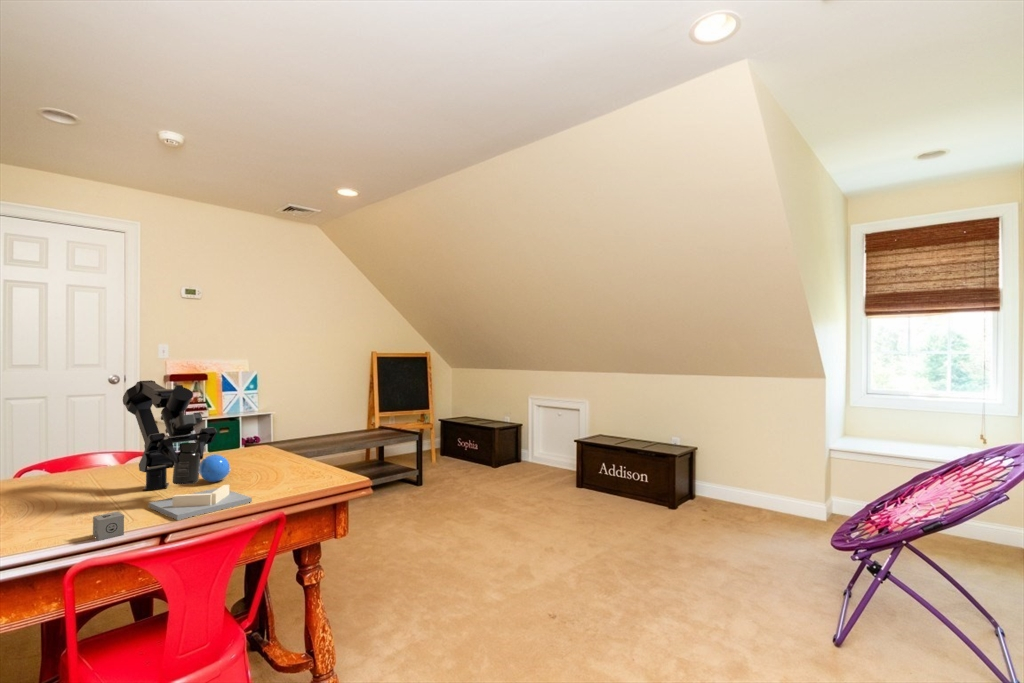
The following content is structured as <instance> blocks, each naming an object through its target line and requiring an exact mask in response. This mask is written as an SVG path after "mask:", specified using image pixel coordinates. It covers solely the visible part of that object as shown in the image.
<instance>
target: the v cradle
mask: <svg viewBox="0 0 1024 683" xmlns="http://www.w3.org/2000/svg"><path fill="white" fill-rule="evenodd" d="M249 502H252V503H253V498H252V496H248V495H245V494H242V493H239V492H236V491H233V490H230V484H223V485H221V486H220V487H217V488H212V489H207V490H202V491H197V492H193V493H188V494H174V495H173V496H172V497H169V498H164V499H160V500H159V499H158V500H155V501H154V500H153V501H149V502H148V508H149V509H151V508H152V509H151V510H153V509H154V510H153V511H155V510H156V511H155V512H157V511H158V513H159V512H160V513H159V514H161V515H164V514H165V515H164V516H166V515H167V516H166V517H168V516H169V517H168V518H170V517H172V518H171V519H173V518H174V519H173V520H175V519H176V520H175V521H177V520H178V521H181V520H180V519H182V520H185V519H184V518H187V517H191V518H193V517H192V516H195V517H197V516H196V515H199V516H201V515H200V514H203V515H205V514H204V513H207V514H210V513H209V512H211V513H214V512H213V511H215V512H218V511H217V510H219V511H222V510H221V509H224V510H227V509H226V508H228V509H230V507H232V508H234V507H235V506H236V507H239V506H238V505H240V506H242V505H241V504H244V505H246V504H245V503H248V504H250V503H249ZM236 507H235V508H236ZM187 519H188V518H187Z"/></svg>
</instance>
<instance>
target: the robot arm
mask: <svg viewBox="0 0 1024 683" xmlns="http://www.w3.org/2000/svg"><path fill="white" fill-rule="evenodd" d="M193 397H194V393H193V391H191V390H190V389H189V388H187V387H184V386H183V384H178V385H174V388H165V387H163V386H161V385H159V384H158V383H157V382H156V381H155V380H139V381H137V382H136V383H135V384H134V385H132V387H130V388H128V389H126V391H125V392H124V394H123V397H122V404H123V406H125V409H126V410H127V412H129V413H131V414H133V415H134V416H135V418H136V421H137V425H138V428H139V430H140V433H141V436H142V439H143V441H144V445H143V446H144V447H143V448H144V451H143V453H142V457H141V459H140V460H139V463H138V469H139V472H142V473H145V486H144V488H143V489H142V492H144V491H145V492H146V491H153V490H163V489H167V488H168V486H169V485H170V482H167V481H168V480H167V473H168V471H167V470H168V469H174V462H175V463H176V464H177V463H178V462H179V460H178V457H177V452H176V450H175V448H174V445H173V444H178V443H188V442H193V441H194V443H198V449H197V451H198V452H199V453H200V454H201V458H200V461H202V460H203V459H204V453H205V449H204V448H205V445H209V444H212V443H213V442H214V440H215V438H216V436H217V435H218V430H217V428H215V426H212V427H210V426H209V427H203V428H200V431H199V432H198V433H192V432H194V430H195V426H196V425H198V424H201V423H202V422H203V415H202V414H201V412H200V411H199V412H194V413H193V414H191V413H190V414H185V413H184V411H186V410H187V409H188V407H189V405H190V403H191V401H192V399H193ZM153 406H154V408H156V409H161V412H160V414H161V416H160V420H161V421H163V422H164V423H163V424H165V430H164V431H165V433H166V434H168V435H166V434H165V433H164V432H160V430H159V428H158V424H157V422H156V419H155V416H154V414H153V411H152V409H151V408H152V407H153Z"/></svg>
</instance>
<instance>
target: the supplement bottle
mask: <svg viewBox="0 0 1024 683" xmlns="http://www.w3.org/2000/svg"><path fill="white" fill-rule="evenodd" d="M179 443H180V444H179V446H178V447H179V448H178V450H179V451H178V452H176V454H177V457H178V460H179V462H178V463H177V464H176V463H175V462H174V466H173V469H172V470H173V472H172V484H173V485H180V486H181V485H182V486H183V485H193V484H196V483H198V482H199V480H200V473H199V470H200V463H201V459H200V458H201V454H200V453H199V452H198V451H197V449H198V443H196V442H179Z"/></svg>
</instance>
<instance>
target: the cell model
mask: <svg viewBox="0 0 1024 683" xmlns="http://www.w3.org/2000/svg"><path fill="white" fill-rule="evenodd" d="M231 470H232V467H230V463H229V460H228V459H227V458H226V457H225V456H222V455H219V454H210V455H208V456H206V457H204V458H203V459H202V460H200V470H199V476H200V477H201V478H202V479H203V480H205V481H206V482H209V483H210V482H211V483H216V482H220V481H222V480H223V479H225V478H226V477H227V476H228V475H229V474H230V472H231Z"/></svg>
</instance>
